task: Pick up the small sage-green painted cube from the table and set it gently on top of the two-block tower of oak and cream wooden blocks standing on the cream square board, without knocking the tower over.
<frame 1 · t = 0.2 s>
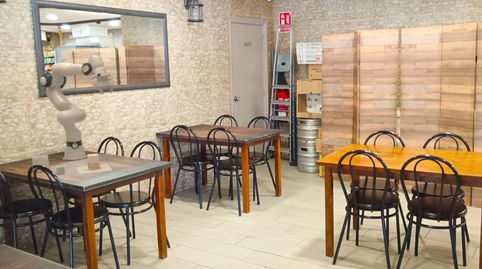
hand: (107, 93, 354), 52 cm above the table, tool tilted 20°, fingers open, 8 cm apart
cream tower block: (93, 161, 335), point 6 cm above the table, touching oak tower block
toilet tissue: (41, 170, 339), on the table
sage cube: (60, 173, 328), on the table
oak tower block: (93, 168, 336), point 1 cm above the table, touching cream tower block, cream square board
cream square board: (94, 169, 336), on the table
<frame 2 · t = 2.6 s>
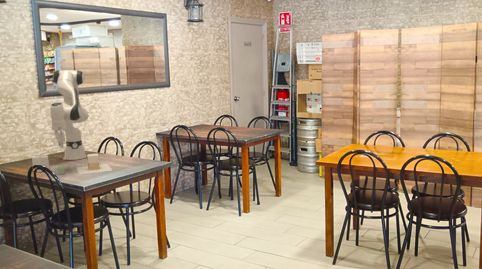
hand: (61, 147, 325), 18 cm above the table, tool pointing down, fingers open, 8 cm apart
nothing on the table moved.
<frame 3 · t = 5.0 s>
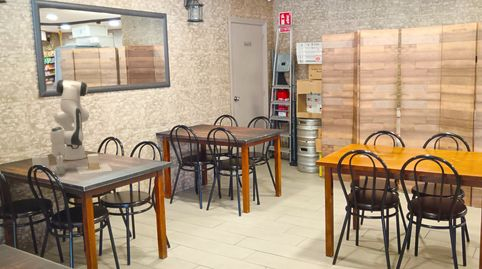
hand: (60, 171, 327), 2 cm above the table, tool pointing down, fingers closed on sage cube, 5 cm apart
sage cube: (60, 173, 328), on the table, touching gripper
everything else where it was.
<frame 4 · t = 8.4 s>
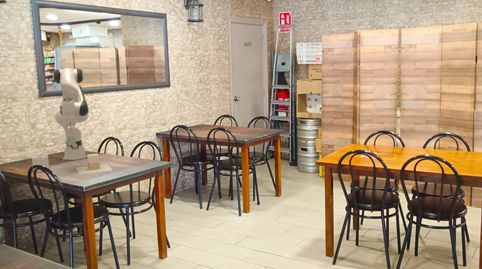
hand: (71, 142, 328), 21 cm above the table, tool pointing down, fingers closed on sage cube, 5 cm apart
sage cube: (71, 144, 328), point 19 cm above the table, touching gripper
everything else where it was.
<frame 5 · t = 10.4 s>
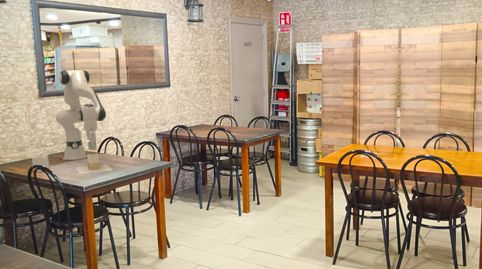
hand: (92, 147, 334), 16 cm above the table, tool pointing down, fingers closed on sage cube, 5 cm apart
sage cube: (92, 149, 334), point 15 cm above the table, touching gripper
everything else where it was.
when the fingers open (14 cm above the table, at t = 11.8 s): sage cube drops 1 cm, resting on cream tower block.
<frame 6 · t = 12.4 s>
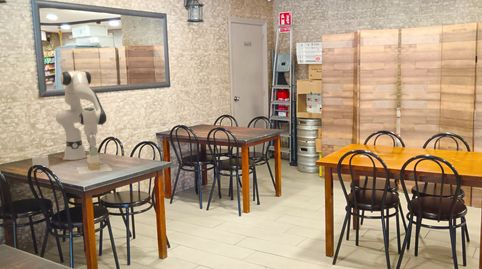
hand: (92, 150, 334), 14 cm above the table, tool pointing down, fingers open, 8 cm apart
cream tower block: (93, 161, 335), point 6 cm above the table, touching oak tower block, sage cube
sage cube: (93, 154, 335), point 11 cm above the table, touching cream tower block
everything else where it was.
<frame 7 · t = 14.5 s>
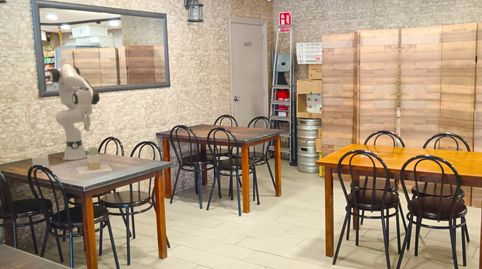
hand: (86, 130, 336), 28 cm above the table, tool pointing down, fingers open, 8 cm apart
nothing on the table moved.
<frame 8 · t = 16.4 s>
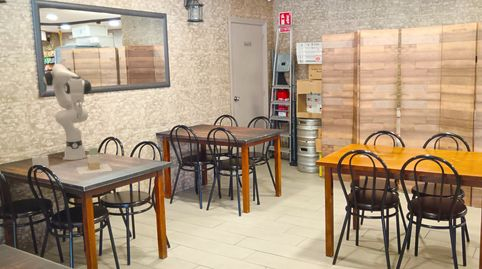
hand: (79, 119, 339), 35 cm above the table, tool pointing down, fingers open, 8 cm apart
nothing on the table moved.
at the end: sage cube 0.4 cm off-centre on the cream tower block, point 5.0 cm above the cream tower block's base; cream tower block 0.1 cm off-centre on the oak tower block, point 5.0 cm above the oak tower block's base; the gripper is holding nothing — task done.
